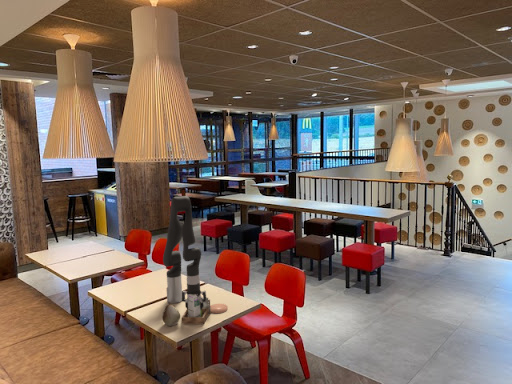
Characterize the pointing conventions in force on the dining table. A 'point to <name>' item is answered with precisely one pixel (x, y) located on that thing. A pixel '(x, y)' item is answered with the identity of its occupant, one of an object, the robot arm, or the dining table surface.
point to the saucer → (218, 308)
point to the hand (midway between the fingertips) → (194, 308)
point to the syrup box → (194, 306)
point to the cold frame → (197, 320)
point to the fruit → (170, 315)
